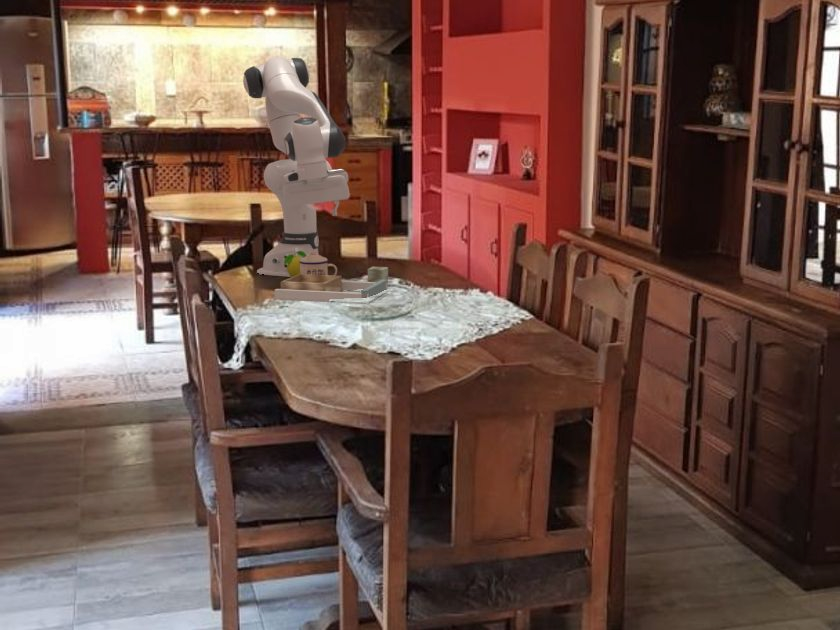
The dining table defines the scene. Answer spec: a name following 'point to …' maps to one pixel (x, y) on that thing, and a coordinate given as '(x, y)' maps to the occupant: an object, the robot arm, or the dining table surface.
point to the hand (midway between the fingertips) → (319, 217)
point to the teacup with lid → (315, 265)
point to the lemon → (294, 263)
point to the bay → (325, 296)
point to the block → (377, 274)
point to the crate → (313, 283)
